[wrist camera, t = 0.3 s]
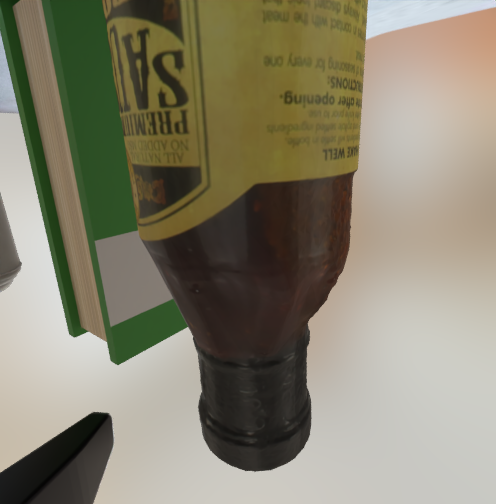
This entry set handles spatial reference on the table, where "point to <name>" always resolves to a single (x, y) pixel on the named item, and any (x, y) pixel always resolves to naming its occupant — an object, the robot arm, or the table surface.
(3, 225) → the canister
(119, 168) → the hardback book
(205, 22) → the sauce bottle
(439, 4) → the table surface
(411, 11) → the table surface
